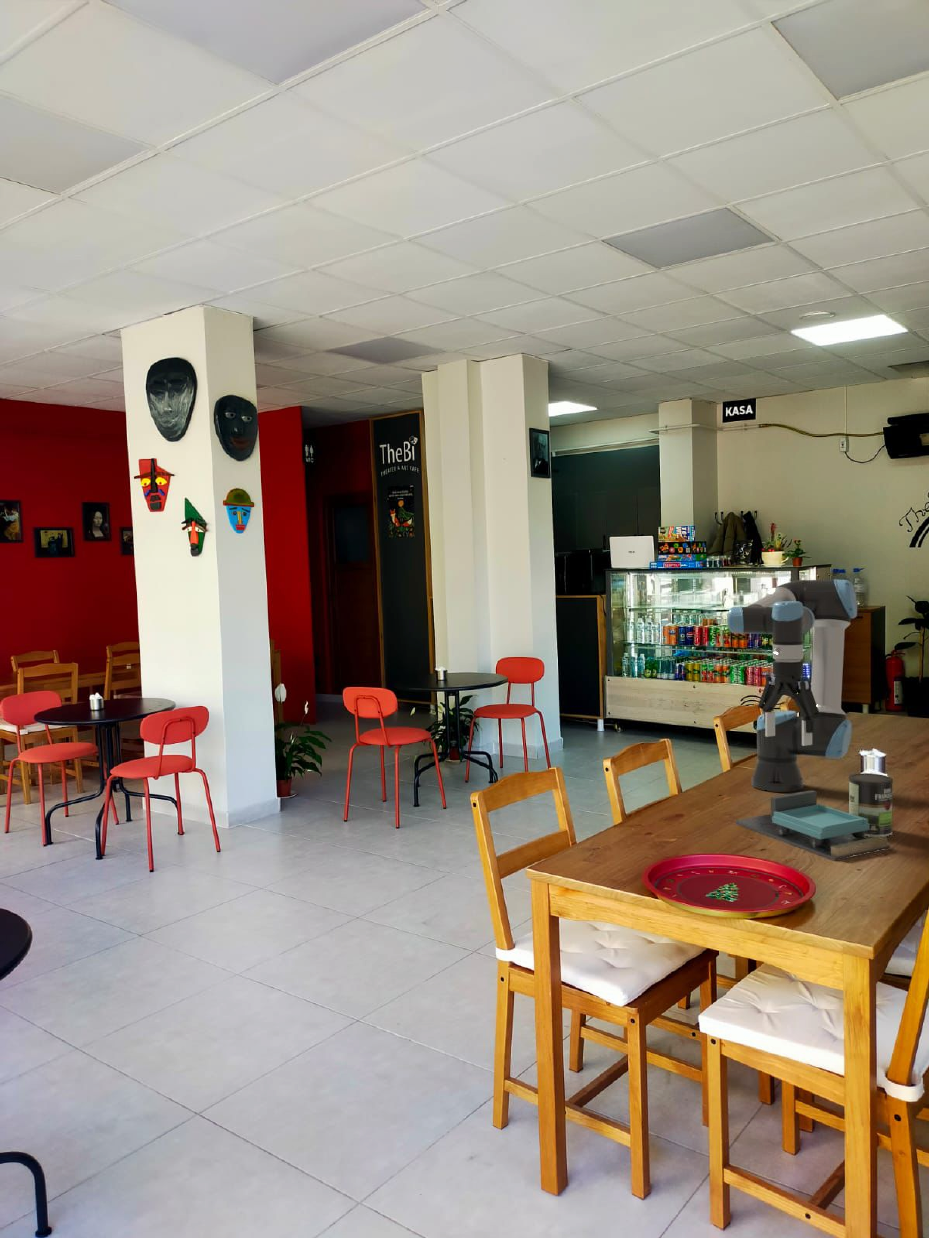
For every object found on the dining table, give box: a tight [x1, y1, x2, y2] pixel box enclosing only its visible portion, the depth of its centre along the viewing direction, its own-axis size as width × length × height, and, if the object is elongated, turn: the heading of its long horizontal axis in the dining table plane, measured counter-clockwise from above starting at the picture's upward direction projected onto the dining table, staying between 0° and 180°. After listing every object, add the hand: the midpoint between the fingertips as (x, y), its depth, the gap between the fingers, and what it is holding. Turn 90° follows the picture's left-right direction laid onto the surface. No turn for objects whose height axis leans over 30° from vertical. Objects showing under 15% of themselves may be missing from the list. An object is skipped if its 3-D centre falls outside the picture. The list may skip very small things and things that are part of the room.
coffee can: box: [848, 772, 894, 838], centre depth 228 cm, size 10×10×14 cm
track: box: [734, 813, 891, 861], centre depth 227 cm, size 34×18×3 cm, turn 24°
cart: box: [770, 790, 869, 847], centre depth 224 cm, size 18×16×8 cm
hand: (788, 740), depth 234 cm, fingers open, 13 cm apart
